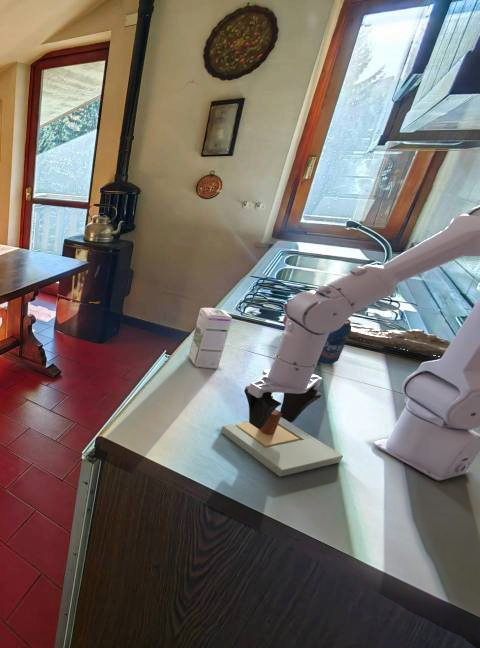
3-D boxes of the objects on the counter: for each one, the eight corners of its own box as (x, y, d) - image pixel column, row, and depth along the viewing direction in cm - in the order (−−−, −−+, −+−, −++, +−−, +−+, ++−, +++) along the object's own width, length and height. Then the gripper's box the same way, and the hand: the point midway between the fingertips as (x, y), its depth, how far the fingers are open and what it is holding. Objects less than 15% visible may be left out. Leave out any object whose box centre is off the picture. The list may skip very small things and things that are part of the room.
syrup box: (218, 369, 99) (234, 317, 94) (193, 366, 100) (207, 314, 95) (210, 359, 104) (225, 308, 99) (186, 356, 105) (199, 306, 100)
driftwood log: (303, 325, 130) (300, 335, 124) (307, 310, 128) (304, 320, 122) (464, 353, 108) (471, 368, 102) (473, 336, 106) (481, 350, 100)
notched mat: (339, 462, 69) (343, 455, 69) (279, 476, 66) (282, 470, 65) (275, 421, 80) (277, 415, 79) (220, 431, 76) (222, 425, 76)
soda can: (318, 365, 102) (335, 324, 97) (296, 353, 108) (312, 313, 103) (343, 365, 102) (362, 324, 97) (320, 353, 108) (337, 313, 104)
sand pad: (296, 444, 73) (307, 418, 71) (263, 452, 71) (273, 425, 69) (264, 424, 79) (274, 399, 77) (233, 430, 77) (242, 404, 75)
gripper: (303, 344, 74) (279, 404, 79) (242, 353, 70) (222, 415, 75) (344, 362, 67) (316, 426, 73) (280, 372, 64) (255, 439, 69)
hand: (270, 422), depth 74 cm, fingers open, 7 cm apart
